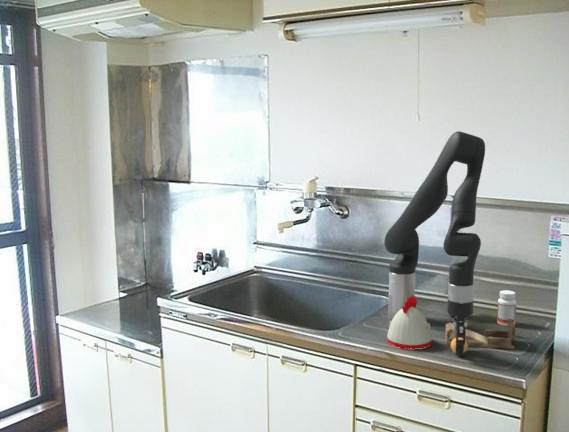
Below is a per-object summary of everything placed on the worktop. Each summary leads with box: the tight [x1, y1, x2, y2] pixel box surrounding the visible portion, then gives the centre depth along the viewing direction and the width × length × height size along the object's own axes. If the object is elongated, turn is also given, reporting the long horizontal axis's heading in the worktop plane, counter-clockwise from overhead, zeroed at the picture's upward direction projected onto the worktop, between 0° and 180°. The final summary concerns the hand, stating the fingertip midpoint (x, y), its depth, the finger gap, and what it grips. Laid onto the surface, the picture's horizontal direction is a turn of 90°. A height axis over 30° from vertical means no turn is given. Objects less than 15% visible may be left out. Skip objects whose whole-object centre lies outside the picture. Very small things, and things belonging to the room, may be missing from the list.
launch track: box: [445, 319, 516, 350], centre depth 200 cm, size 20×9×9 cm, turn 78°
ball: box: [450, 338, 469, 354], centre depth 191 cm, size 5×5×5 cm
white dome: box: [386, 295, 432, 349], centre depth 200 cm, size 14×14×15 cm
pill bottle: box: [496, 289, 517, 327], centre depth 218 cm, size 6×6×11 cm
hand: (459, 352), depth 191 cm, fingers closed on ball, 5 cm apart
